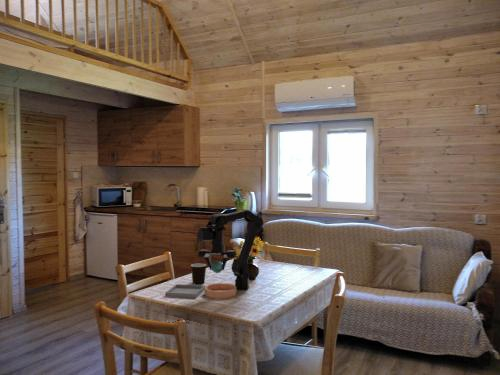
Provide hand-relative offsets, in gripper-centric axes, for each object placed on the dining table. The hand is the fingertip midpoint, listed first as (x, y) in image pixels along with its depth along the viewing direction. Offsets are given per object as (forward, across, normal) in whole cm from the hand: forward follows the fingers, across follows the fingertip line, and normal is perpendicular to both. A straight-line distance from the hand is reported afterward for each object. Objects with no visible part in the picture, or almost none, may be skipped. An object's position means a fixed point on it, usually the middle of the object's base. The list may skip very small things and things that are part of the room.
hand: (217, 270), depth 217 cm
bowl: (+12, -2, 0) cm, 12 cm away
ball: (-2, 0, 0) cm, 2 cm away
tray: (+12, +16, 0) cm, 20 cm away
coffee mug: (+12, +15, -20) cm, 28 cm away
